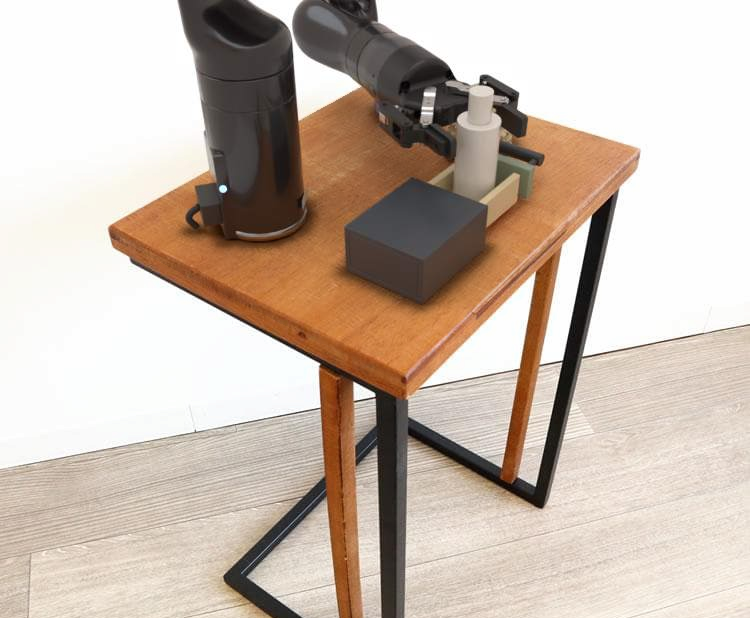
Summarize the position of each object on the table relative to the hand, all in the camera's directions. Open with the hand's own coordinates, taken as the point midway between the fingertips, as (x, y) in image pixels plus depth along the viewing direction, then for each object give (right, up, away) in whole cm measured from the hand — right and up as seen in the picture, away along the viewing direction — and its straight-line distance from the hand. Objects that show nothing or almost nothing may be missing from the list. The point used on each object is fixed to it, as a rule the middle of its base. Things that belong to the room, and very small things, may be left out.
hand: (489, 139), depth 83 cm
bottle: (-1, -4, +7) cm, 8 cm away
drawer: (+1, -4, +9) cm, 10 cm away
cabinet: (-7, -12, +2) cm, 14 cm away
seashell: (+1, +4, +19) cm, 19 cm away
